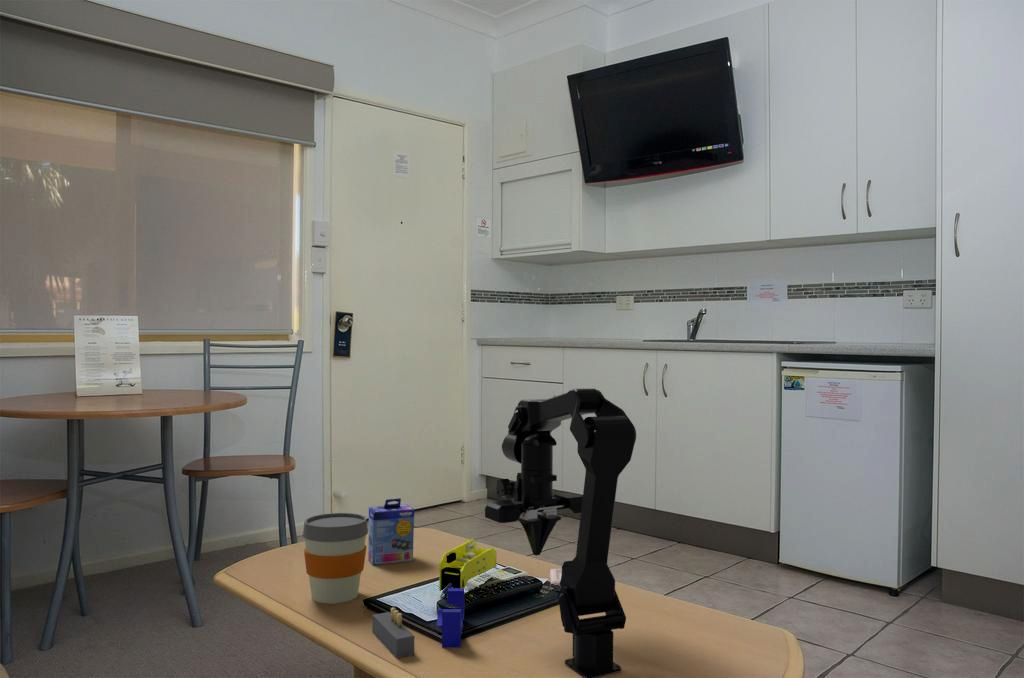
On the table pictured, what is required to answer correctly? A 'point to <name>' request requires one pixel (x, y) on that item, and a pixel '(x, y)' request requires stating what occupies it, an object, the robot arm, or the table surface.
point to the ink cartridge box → (391, 533)
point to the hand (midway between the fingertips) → (536, 554)
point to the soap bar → (555, 576)
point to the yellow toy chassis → (465, 564)
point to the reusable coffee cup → (335, 555)
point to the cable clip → (452, 618)
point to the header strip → (393, 633)
